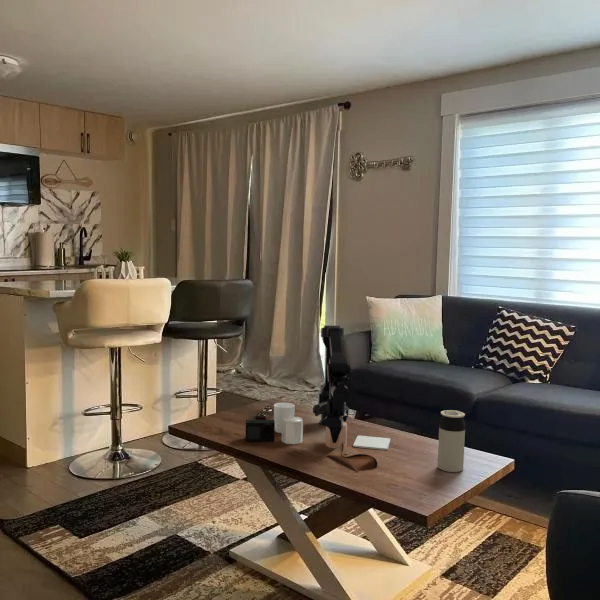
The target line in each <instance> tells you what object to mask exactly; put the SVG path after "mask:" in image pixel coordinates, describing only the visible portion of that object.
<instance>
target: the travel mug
mask: <svg viewBox="0 0 600 600" xmlns="http://www.w3.org/2000/svg"><path fill="white" fill-rule="evenodd" d="M440 415H441V419H440V421H439V426H438V444H437V445H438V447H437V449H438V451H437V468H438V469H440V470H442V471H444V472H447V473H460V472H461V471H463V470H464V463H465V462H464V461H465V437H466V436H465V435H466V423H465V420H464V417H465V416H466V413H464V412H462V411H460V410H453V409H449V410H448V409H447V410H442V411H440Z"/></svg>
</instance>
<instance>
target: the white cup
mask: <svg viewBox="0 0 600 600" xmlns="http://www.w3.org/2000/svg"><path fill="white" fill-rule="evenodd" d="M295 406H296V405H295V404H294V403H291V402H276V403H274V404H273V420H275V433H278V434H282V421H283V418H285V417H295V409H296V408H295Z"/></svg>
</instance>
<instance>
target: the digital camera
mask: <svg viewBox="0 0 600 600" xmlns="http://www.w3.org/2000/svg"><path fill="white" fill-rule="evenodd" d="M275 433H276V431H275V420H274V419H246V420H245V442H247V443H249V442H250V443H252V442H253V443H254V442H255V443H256V442H257V443H259V442H260V443H261V442H262V443H263V442H264V443H266V442H267V443H268V442H269V443H271V442H273V443H274V442H275V437H276V436H275Z"/></svg>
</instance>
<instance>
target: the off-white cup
mask: <svg viewBox="0 0 600 600" xmlns="http://www.w3.org/2000/svg"><path fill="white" fill-rule="evenodd" d="M303 435H304V420H303V418H302V417H299V416H294V417H285V418H283V421H282V433H281V442H283V444H286V445H287V444H288V445H298V444H301V443H302V442H303V441H304V439H303V438H304V437H303Z"/></svg>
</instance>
